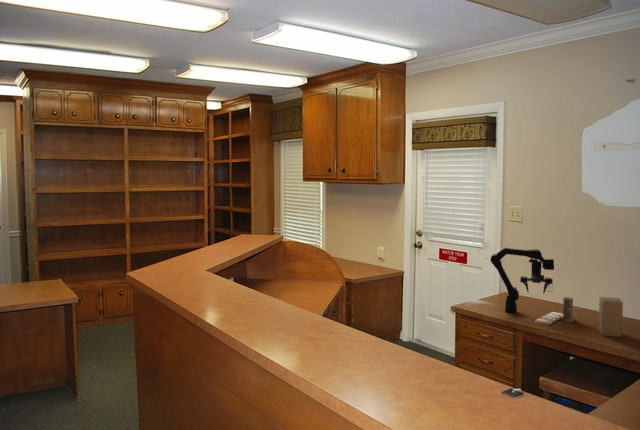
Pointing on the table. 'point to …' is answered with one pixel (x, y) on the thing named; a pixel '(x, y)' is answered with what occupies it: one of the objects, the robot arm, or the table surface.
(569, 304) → the square column stand
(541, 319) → the ash board
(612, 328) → the wooden block
